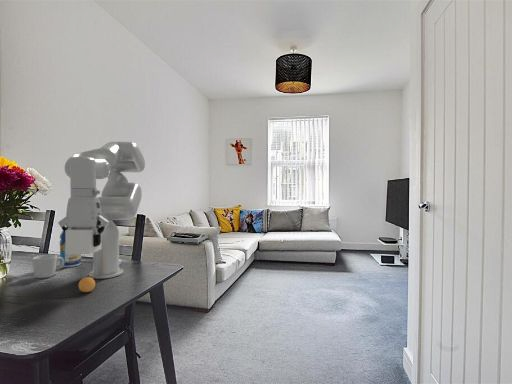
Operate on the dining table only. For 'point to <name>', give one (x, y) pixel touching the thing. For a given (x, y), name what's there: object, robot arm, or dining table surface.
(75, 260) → the beverage bottle
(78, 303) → the dining table surface
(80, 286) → the ball
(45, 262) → the cup
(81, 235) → the white cube
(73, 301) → the dining table surface
